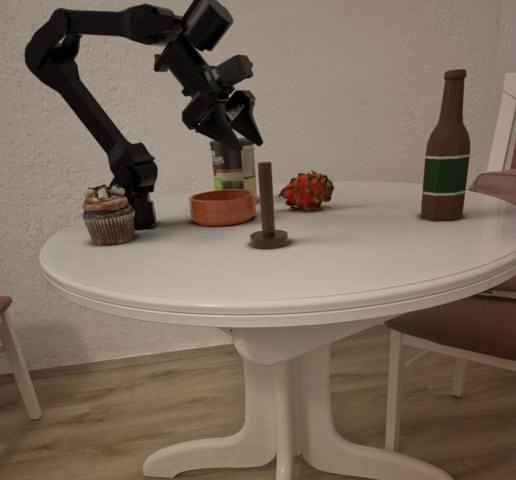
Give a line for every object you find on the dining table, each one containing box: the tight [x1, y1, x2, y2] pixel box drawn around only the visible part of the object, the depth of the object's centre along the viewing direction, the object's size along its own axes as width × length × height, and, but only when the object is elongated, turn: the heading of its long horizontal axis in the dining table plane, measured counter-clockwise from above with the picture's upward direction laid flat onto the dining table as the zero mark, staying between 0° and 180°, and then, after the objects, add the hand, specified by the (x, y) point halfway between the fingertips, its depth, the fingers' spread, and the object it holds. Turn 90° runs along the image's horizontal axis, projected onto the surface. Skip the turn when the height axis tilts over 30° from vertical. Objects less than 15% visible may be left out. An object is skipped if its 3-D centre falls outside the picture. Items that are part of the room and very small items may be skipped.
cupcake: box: [81, 184, 136, 246], centre depth 90 cm, size 10×10×10 cm
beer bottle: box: [420, 68, 471, 222], centre depth 85 cm, size 8×8×24 cm
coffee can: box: [209, 137, 258, 204], centre depth 114 cm, size 10×10×14 cm
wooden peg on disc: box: [249, 161, 289, 250], centre depth 79 cm, size 6×6×13 cm
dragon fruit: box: [278, 169, 335, 212], centre depth 103 cm, size 8×8×12 cm
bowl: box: [187, 189, 257, 227], centre depth 100 cm, size 14×14×5 cm
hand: (251, 147), depth 84 cm, fingers open, 9 cm apart
